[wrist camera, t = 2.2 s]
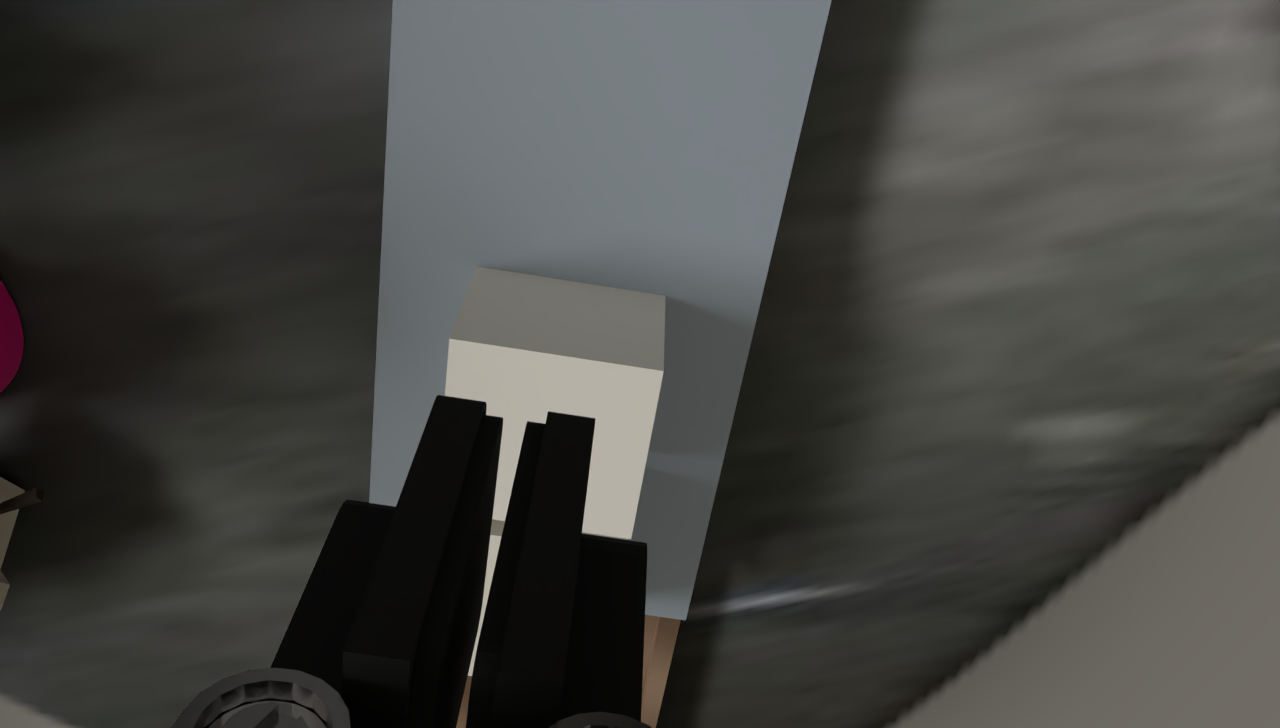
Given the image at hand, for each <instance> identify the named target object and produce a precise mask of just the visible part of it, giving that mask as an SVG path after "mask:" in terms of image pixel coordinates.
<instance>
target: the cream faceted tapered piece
mask: <svg viewBox="0 0 1280 728" xmlns="http://www.w3.org/2000/svg"><path fill="white" fill-rule="evenodd" d="M24 492H25V490H23V489H21V488H19V487H18V486H16V485H14V484H12V483H10V482H9V481H7V480H5V479H3V478H2V477H0V611H1V609H2V606H3V603H4V600H5V598H6V595H7V592H8V589H9V586H10V584H9V583H8V581H7V579H6V578H5V576H4V575H3V573H2V571H1V567H2V563H3V560H4V557H5V554H6V550H7V547H8V544H9V541H10V537H11V534H12V531H13V528H14V524H15V521H16V518H17V515H18V512H19V509H20V508H23V507H26V506H30V505H33V504H36V503H40V502H43V495H44V492H43V491H42V490H40V489H38V488H37V487H36V488H34V489H31V490H29V491H27V492H25V493H24Z"/></svg>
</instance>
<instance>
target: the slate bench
mask: <svg viewBox="0 0 1280 728" xmlns="http://www.w3.org/2000/svg"><path fill="white" fill-rule="evenodd" d="M831 1H832V0H393V8H392V29H391V51H390V72H389V93H388V114H387V136H386V157H385V178H384V200H383V221H382V242H381V263H380V285H379V306H378V327H377V348H376V370H375V391H374V412H373V433H372V455H371V476H370V497H369V503H374V504H381V505H388V506H395V507H396V505H397V502H398V500H399V497H400V494H401V491H402V489H403V486H404V483H405V480H406V478H407V475H408V472H409V469H410V467H411V464H412V461H413V458H414V456H415V453H416V450H417V448H418V445H419V442H420V439H421V437H422V434H423V431H424V428H425V426H426V423H427V420H428V417H429V415H430V412H431V409H432V406H433V404H434V401H435V399H436V396H437V395H443V396H445V386H446V374H447V362H448V350H449V339H450V336H451V333H452V331H453V328H454V325H455V323H456V320H457V317H458V315H459V312H460V309H461V307H462V304H463V301H464V299H465V296H466V293H467V291H468V288H469V285H470V283H471V280H472V278H473V275H474V272H475V270H476V267H477V266H478V267H484V268H490V269H497V270H503V271H510V272H516V273H523V274H529V275H536V276H542V277H548V278H555V279H561V280H568V281H574V282H581V283H587V284H593V285H600V286H606V287H613V288H619V289H626V290H632V291H639V292H645V293H651V294H658V295H664V296H666V297H665V339H664V372H663V378H662V383H661V388H660V393H659V398H658V403H657V408H656V414H655V419H654V424H653V429H652V434H651V439H650V445H649V450H648V455H647V460H646V465H645V470H644V475H643V481H642V486H641V491H640V496H639V501H638V506H637V512H636V517H635V522H634V527H633V532H632V537H631V539H629V540H631V541H637V542H644V543H647V578H646V604H645V615H650V616H658V617H665V618H672V619H679V620H686V618H687V613H688V609H689V605H690V600H691V596H692V592H693V588H694V583H695V579H696V575H697V571H698V566H699V562H700V558H701V554H702V549H703V545H704V541H705V537H706V532H707V528H708V524H709V520H710V515H711V511H712V507H713V503H714V498H715V494H716V490H717V486H718V481H719V477H720V473H721V469H722V464H723V460H724V456H725V452H726V447H727V443H728V439H729V435H730V430H731V426H732V422H733V418H734V413H735V409H736V405H737V401H738V396H739V392H740V388H741V384H742V379H743V375H744V371H745V367H746V362H747V358H748V354H749V350H750V345H751V341H752V337H753V333H754V328H755V324H756V320H757V316H758V311H759V307H760V303H761V299H762V294H763V290H764V286H765V282H766V277H767V273H768V269H769V265H770V260H771V256H772V252H773V248H774V243H775V239H776V235H777V230H778V226H779V222H780V218H781V213H782V209H783V205H784V201H785V196H786V192H787V188H788V184H789V179H790V175H791V171H792V167H793V162H794V158H795V154H796V150H797V145H798V141H799V137H800V133H801V128H802V124H803V120H804V116H805V111H806V107H807V103H808V99H809V94H810V90H811V86H812V82H813V77H814V73H815V69H816V65H817V60H818V56H819V52H820V48H821V43H822V39H823V35H824V31H825V26H826V22H827V18H828V14H829V9H830V5H831Z"/></svg>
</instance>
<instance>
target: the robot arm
mask: <svg viewBox="0 0 1280 728" xmlns="http://www.w3.org/2000/svg"><path fill="white" fill-rule="evenodd" d="M486 408H487V404H486V402H483V401H476V400H470V399H463V398H456V397H449V396H443V395H437V396H436V399H435V401H434V404H433V406H432V409H431V412H430V415H429V417H428V420H427V423H426V426H425V428H424V431H423V434H422V437H421V439H420V442H419V445H418V448H417V450H416V453H415V456H414V458H413V461H412V464H411V467H410V469H409V472H408V475H407V478H406V480H405V483H404V486H403V489H402V491H401V494H400V497H399V500H398V502H397V505H396V507H395V506H388V505H381V504H374V503H367V502H360V501H353V500H346V501H345V502H344V503H343V504H342V506H341V508H340V510H339V512H338V514H337V516H336V519H335V521H334V523H333V526H332V528H331V530H330V532H329V535H328V537H327V539H326V542H325V544H324V546H323V549H322V551H321V553H320V555H319V558H318V560H317V562H316V565H315V567H314V569H313V571H312V574H311V576H310V578H309V581H308V583H307V585H306V588H305V590H304V592H303V594H302V597H301V599H300V601H299V604H298V606H297V608H296V610H295V613H294V615H293V617H292V620H291V622H290V624H289V627H288V629H287V631H286V633H285V636H284V638H283V640H282V643H281V645H280V647H279V649H278V652H277V654H276V656H275V659H274V661H273V663H272V666H271V668H266V669H256V670H248V671H245V672H242V673H239V674H236V675H232V676H229V677H226V678H223V679H221V680H220V681H218V682H216V683H215V684H213V685H211V686H210V687H208V688H206V689H205V690H203V691H202V692H200V693H199V694H198V695H197V696H196V697H195V698H194V699H193V700H192V701H191V702H190V703H189V704H188V706H187V707H186V708H185V709H184V710H183V711H182V712H181V714H180V715H179V717H178V718H177V719H176V721H175V722H174V724H173V725H172V726H171V728H456V726H457V721H458V717H459V712H460V708H461V703H462V699H463V694H464V690H465V685H466V681H467V677H468V672H469V668H470V663H471V659H472V654H473V650H474V645H475V641H476V636H477V632H478V627H479V621H480V615H481V609H482V602H483V594H484V586H485V577H486V568H487V560H488V551H489V542H490V533H491V525H492V516H493V507H494V499H495V490H496V481H497V473H498V464H499V455H500V447H501V438H502V429H503V417H496V416H489V415H486ZM594 428H595V418H590V417H583V416H577V415H570V414H563V413H557V412H550V411H548V414H547V419H546V424H543V423H537V422H530V421H527V423H526V428H525V432H524V437H523V441H522V446H521V450H520V455H519V459H518V464H517V469H516V473H515V478H514V482H513V487H512V491H511V496H510V500H509V505H508V509H507V514H506V519H505V523H504V528H503V532H502V537H501V541H500V546H499V550H498V555H497V559H496V564H495V568H494V573H493V578H492V582H491V587H490V591H489V596H488V600H487V605H486V609H485V614H484V618H483V623H482V627H481V632H480V637H479V641H478V646H477V651H476V656H475V662H474V668H473V674H472V680H471V687H470V694H469V703H468V712H467V720H466V728H652V727H650V726H649V725H648V724H645V723H643V722H641V708H642V682H643V656H644V630H645V604H646V578H647V543H644V542H637V541H631V540H624V539H617V538H610V537H603V536H596V535H589V534H582V527H583V519H584V511H585V502H586V494H587V486H588V478H589V469H590V461H591V453H592V445H593V436H594Z"/></svg>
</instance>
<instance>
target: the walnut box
mask: <svg viewBox="0 0 1280 728" xmlns="http://www.w3.org/2000/svg"><path fill="white" fill-rule="evenodd" d="M680 621H681V620H679V619H672V618H665V617H658V616H650V615H645V630H644V656H643V682H642V708H641V722H643V723H645V724H648V725H649V726H650V727H652V728H656V724H657V720H658V716H659V712H660V707H661V703H662V699H663V694H664V690H665V686H666V681H667V677H668V673H669V668H670V664H671V660H672V656H673V651H674V647H675V643H676V638H677V634H678V630H679V625H680ZM471 680H472V676H468V677H467V681H466V685H465V690H464V694H463V699H462V703H461V708H460V712H459V717H458V721H457V726H456V728H466V720H467V712H468V703H469V694H470V687H471Z"/></svg>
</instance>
